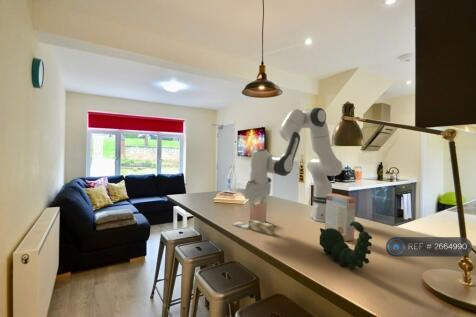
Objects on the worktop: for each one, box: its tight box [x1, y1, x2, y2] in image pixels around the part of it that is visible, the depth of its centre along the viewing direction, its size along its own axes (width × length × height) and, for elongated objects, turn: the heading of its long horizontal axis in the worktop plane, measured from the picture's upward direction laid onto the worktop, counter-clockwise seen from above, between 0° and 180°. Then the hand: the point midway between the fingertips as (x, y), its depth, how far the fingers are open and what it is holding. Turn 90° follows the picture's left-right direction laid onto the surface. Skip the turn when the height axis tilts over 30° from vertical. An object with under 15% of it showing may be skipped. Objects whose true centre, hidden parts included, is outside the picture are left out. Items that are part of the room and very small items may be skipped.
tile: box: [249, 200, 268, 223], centre depth 142 cm, size 4×12×12 cm, turn 143°
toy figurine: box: [319, 220, 373, 270], centre depth 95 cm, size 9×19×25 cm
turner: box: [232, 219, 275, 236], centre depth 130 cm, size 24×6×4 cm, turn 53°
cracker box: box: [324, 192, 357, 242], centre depth 123 cm, size 14×6×21 cm, turn 22°
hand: (257, 205), depth 128 cm, fingers open, 8 cm apart
